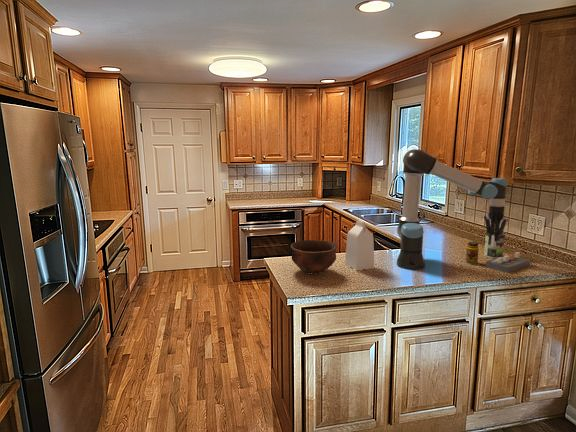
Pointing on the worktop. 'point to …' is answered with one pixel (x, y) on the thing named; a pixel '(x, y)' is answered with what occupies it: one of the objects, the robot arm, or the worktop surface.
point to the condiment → (472, 254)
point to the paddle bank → (508, 258)
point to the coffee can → (496, 250)
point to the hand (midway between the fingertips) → (493, 246)
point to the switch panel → (508, 264)
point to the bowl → (313, 255)
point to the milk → (360, 247)
